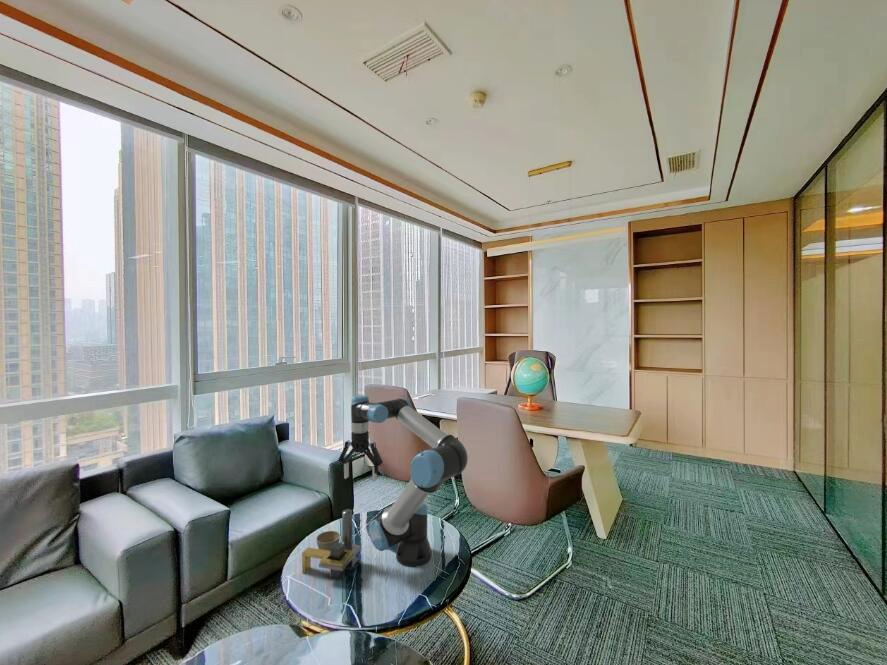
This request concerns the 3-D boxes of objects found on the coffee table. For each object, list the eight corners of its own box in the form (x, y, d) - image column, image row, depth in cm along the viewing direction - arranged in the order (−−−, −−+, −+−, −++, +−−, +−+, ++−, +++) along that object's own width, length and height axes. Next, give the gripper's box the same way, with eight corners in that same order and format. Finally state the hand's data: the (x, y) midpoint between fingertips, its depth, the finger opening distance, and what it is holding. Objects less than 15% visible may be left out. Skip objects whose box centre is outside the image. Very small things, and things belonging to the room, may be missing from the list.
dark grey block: (339, 580, 149) (339, 549, 149) (330, 578, 150) (330, 548, 150) (344, 573, 153) (344, 543, 153) (335, 572, 154) (335, 542, 154)
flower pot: (333, 561, 161) (333, 544, 161) (311, 558, 163) (311, 541, 163) (344, 547, 171) (344, 531, 171) (323, 545, 173) (323, 529, 173)
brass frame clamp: (362, 560, 161) (362, 508, 161) (342, 586, 145) (341, 528, 145) (321, 553, 166) (320, 503, 166) (297, 577, 150) (297, 522, 150)
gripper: (389, 430, 168) (390, 478, 168) (339, 427, 175) (339, 473, 175) (382, 435, 161) (383, 485, 161) (330, 431, 167) (330, 479, 168)
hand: (360, 479), depth 168 cm, fingers open, 13 cm apart
